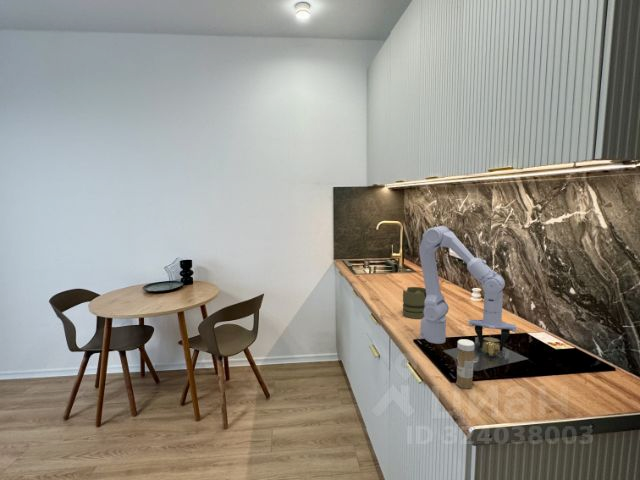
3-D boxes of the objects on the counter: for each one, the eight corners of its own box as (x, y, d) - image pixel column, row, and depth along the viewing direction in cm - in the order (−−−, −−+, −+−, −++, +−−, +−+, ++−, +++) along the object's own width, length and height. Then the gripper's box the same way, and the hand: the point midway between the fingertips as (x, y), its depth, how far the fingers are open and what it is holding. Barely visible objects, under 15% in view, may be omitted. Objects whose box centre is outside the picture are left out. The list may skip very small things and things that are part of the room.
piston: (399, 291, 166) (408, 285, 176) (399, 316, 168) (407, 309, 177) (423, 294, 160) (431, 288, 170) (423, 321, 162) (431, 313, 171)
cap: (482, 343, 131) (482, 334, 131) (499, 346, 129) (499, 336, 129) (482, 354, 123) (482, 344, 123) (500, 356, 121) (500, 346, 120)
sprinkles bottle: (453, 381, 110) (454, 339, 108) (468, 380, 110) (469, 338, 108) (460, 389, 105) (462, 345, 104) (475, 388, 106) (477, 344, 104)
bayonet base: (442, 353, 129) (442, 341, 129) (490, 343, 137) (491, 332, 136) (475, 373, 114) (476, 360, 114) (528, 361, 122) (528, 349, 121)
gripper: (469, 311, 124) (467, 349, 125) (517, 316, 118) (515, 356, 119) (470, 305, 130) (468, 341, 132) (516, 310, 124) (514, 348, 126)
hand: (491, 348), depth 126 cm, fingers closed on cap, 5 cm apart
